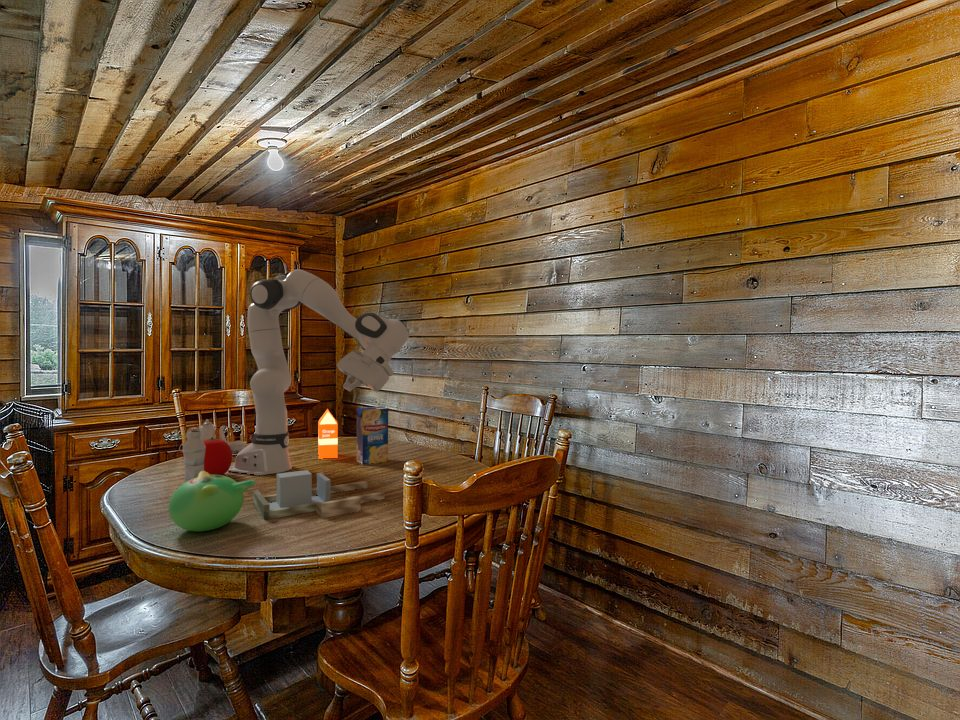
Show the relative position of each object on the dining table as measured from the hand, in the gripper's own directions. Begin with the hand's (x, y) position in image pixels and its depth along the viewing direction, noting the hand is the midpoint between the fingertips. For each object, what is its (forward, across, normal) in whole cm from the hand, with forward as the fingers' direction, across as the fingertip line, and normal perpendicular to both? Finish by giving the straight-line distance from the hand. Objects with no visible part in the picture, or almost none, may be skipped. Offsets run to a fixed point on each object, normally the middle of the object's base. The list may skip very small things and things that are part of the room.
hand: (346, 388), depth 174 cm
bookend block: (+37, +13, +5) cm, 40 cm away
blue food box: (+8, -10, +50) cm, 51 cm away
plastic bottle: (+54, -21, +3) cm, 58 cm away
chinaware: (+46, -65, +34) cm, 87 cm away
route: (+32, +18, +8) cm, 38 cm away
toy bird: (+54, +11, -13) cm, 57 cm away
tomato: (+48, -36, +17) cm, 63 cm away
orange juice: (+17, -30, +50) cm, 60 cm away
